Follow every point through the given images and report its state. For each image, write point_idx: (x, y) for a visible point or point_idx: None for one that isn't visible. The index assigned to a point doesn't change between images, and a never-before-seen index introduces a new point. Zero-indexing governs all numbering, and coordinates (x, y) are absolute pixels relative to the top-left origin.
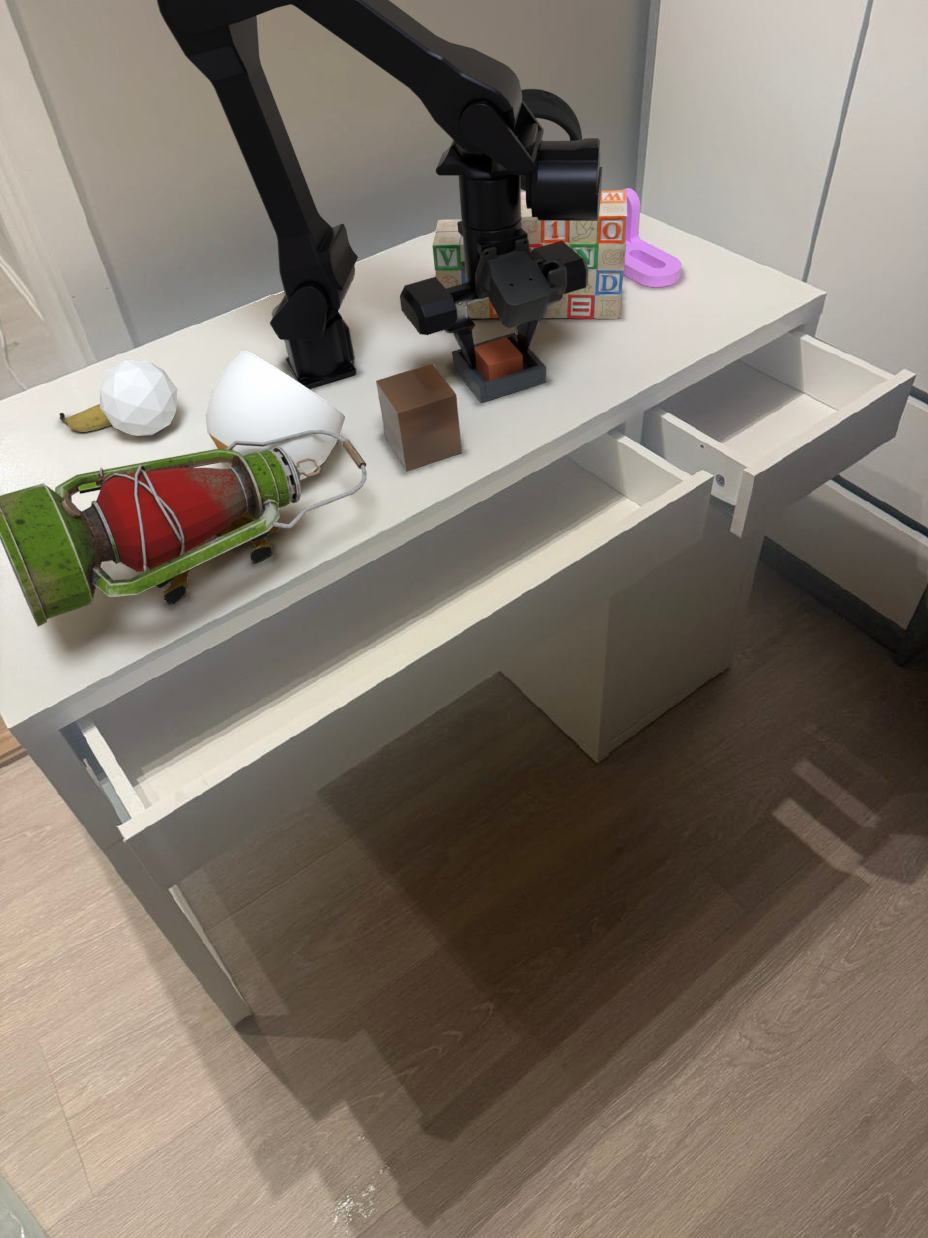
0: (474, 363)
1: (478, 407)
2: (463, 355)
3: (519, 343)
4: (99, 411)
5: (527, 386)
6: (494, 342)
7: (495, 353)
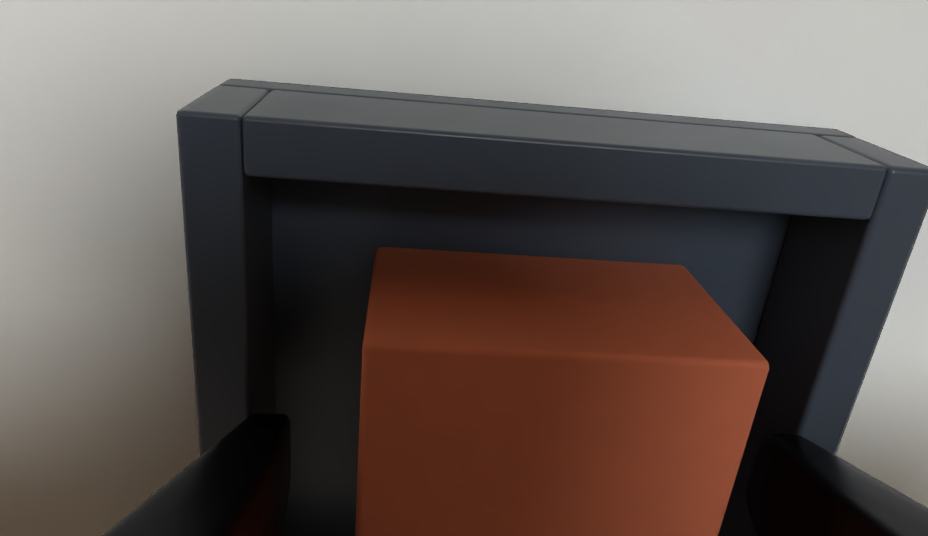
0: (825, 462)
1: (888, 93)
2: None
3: (280, 525)
4: None
5: (416, 96)
6: None
7: (592, 490)
